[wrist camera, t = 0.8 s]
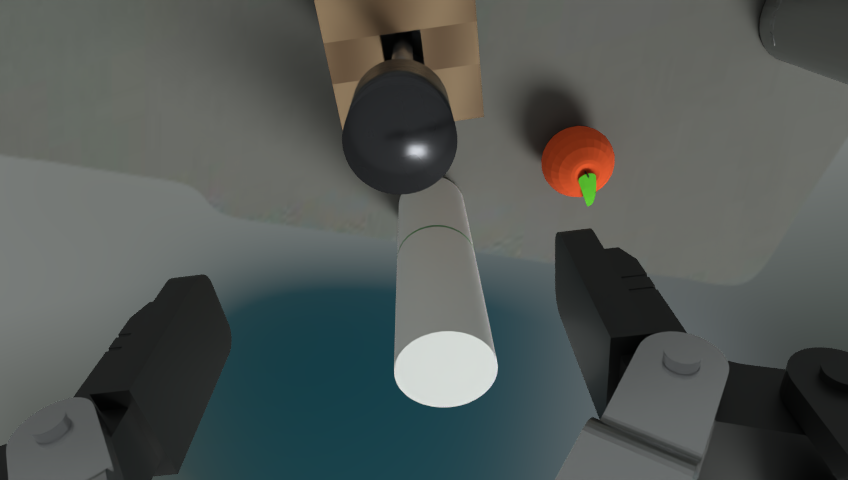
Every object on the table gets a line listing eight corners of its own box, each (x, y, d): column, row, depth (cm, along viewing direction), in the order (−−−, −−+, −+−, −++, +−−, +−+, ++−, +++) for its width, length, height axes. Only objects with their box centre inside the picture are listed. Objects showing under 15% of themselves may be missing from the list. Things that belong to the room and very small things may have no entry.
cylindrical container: (402, 237, 60) (400, 411, 38) (394, 179, 56) (387, 336, 35) (465, 230, 60) (499, 402, 38) (461, 172, 56) (496, 326, 34)
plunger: (445, -32, 37) (493, 21, 16) (455, 70, 41) (505, 217, 20) (347, -17, 37) (274, 53, 17) (365, 82, 41) (323, 240, 20)
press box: (464, -77, 44) (497, -80, 28) (475, 68, 50) (508, 136, 34) (323, -56, 45) (275, -46, 28) (351, 85, 51) (325, 160, 35)
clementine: (607, 177, 57) (631, 207, 51) (543, 195, 58) (559, 227, 51) (596, 107, 53) (621, 131, 47) (528, 128, 54) (544, 154, 48)
